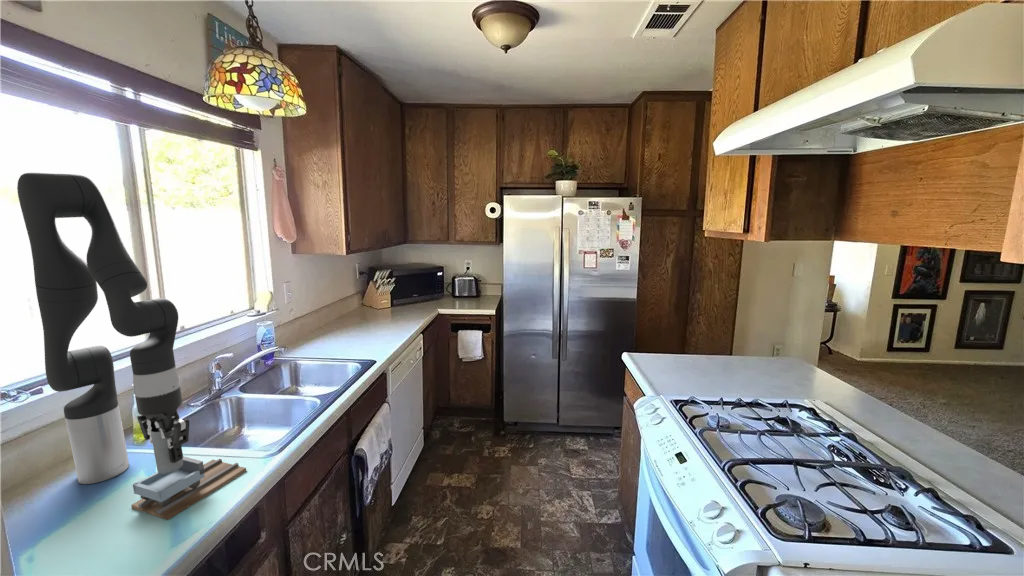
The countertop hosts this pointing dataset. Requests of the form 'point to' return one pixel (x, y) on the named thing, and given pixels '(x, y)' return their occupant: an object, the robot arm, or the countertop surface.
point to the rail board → (193, 490)
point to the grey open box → (170, 482)
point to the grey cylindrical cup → (163, 454)
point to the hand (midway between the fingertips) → (169, 458)
